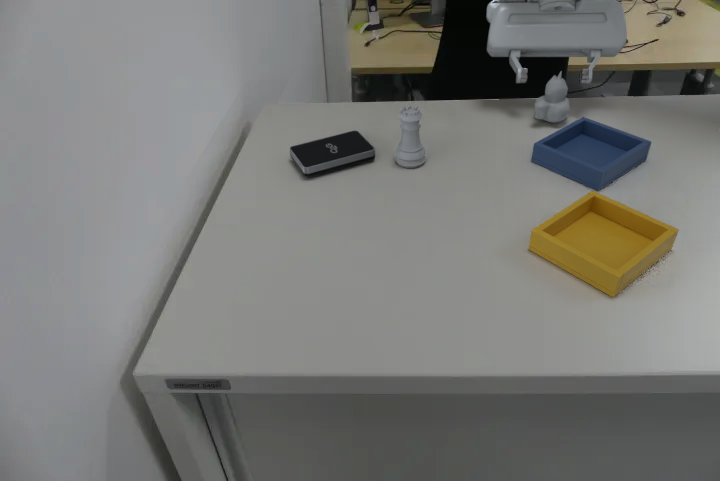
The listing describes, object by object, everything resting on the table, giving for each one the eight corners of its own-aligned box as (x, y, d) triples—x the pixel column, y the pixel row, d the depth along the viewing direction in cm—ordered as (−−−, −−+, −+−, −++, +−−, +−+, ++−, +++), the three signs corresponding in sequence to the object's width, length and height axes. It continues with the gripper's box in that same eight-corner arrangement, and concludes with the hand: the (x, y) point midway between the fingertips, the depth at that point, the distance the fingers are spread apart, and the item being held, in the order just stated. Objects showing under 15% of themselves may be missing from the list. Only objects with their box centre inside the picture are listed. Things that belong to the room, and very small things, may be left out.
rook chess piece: (432, 162, 80) (434, 110, 75) (407, 172, 78) (407, 120, 73) (412, 150, 83) (413, 99, 78) (388, 160, 81) (387, 108, 76)
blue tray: (579, 133, 84) (583, 116, 83) (646, 159, 78) (652, 141, 76) (530, 161, 79) (533, 143, 77) (598, 191, 72) (602, 172, 70)
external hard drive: (377, 161, 81) (376, 149, 80) (304, 181, 78) (303, 169, 76) (357, 141, 86) (356, 129, 85) (289, 159, 83) (287, 147, 81)
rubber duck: (577, 121, 87) (587, 71, 82) (546, 133, 85) (555, 83, 80) (550, 109, 91) (558, 61, 86) (520, 120, 89) (527, 71, 84)
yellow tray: (587, 209, 69) (592, 190, 67) (671, 249, 62) (679, 229, 61) (528, 249, 64) (531, 229, 62) (613, 297, 57) (619, 277, 55)
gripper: (488, -15, 85) (485, 73, 84) (630, -17, 82) (630, 73, 81) (485, 7, 91) (482, 89, 90) (617, 6, 89) (616, 90, 87)
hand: (553, 82), depth 85 cm, fingers open, 8 cm apart
